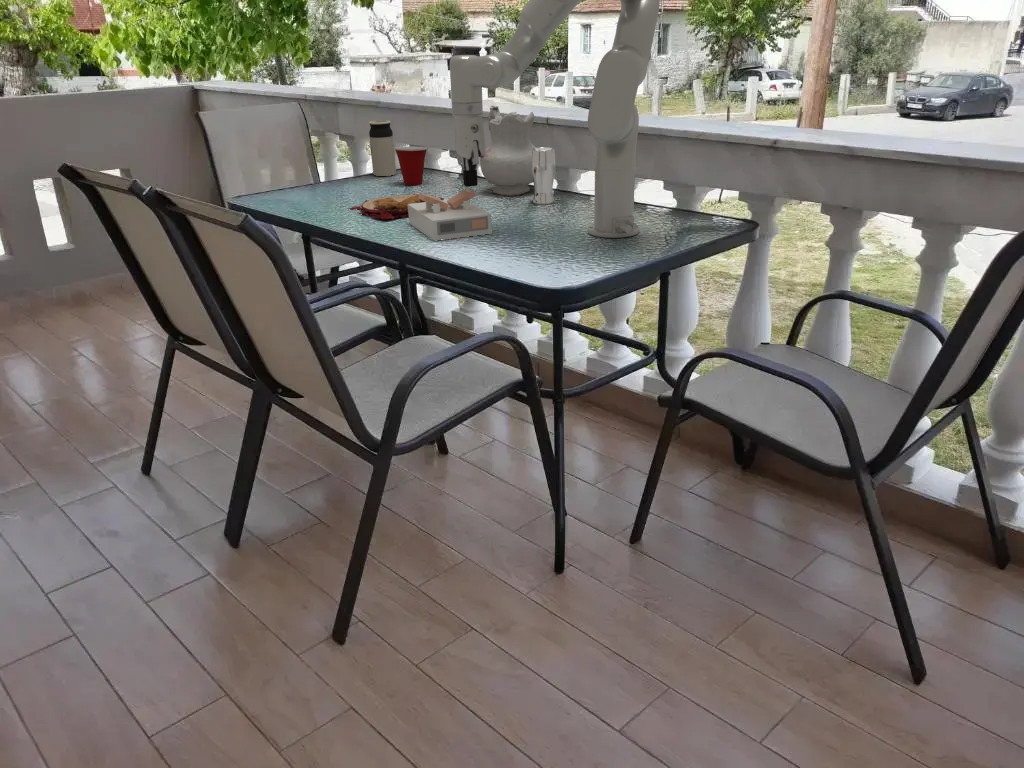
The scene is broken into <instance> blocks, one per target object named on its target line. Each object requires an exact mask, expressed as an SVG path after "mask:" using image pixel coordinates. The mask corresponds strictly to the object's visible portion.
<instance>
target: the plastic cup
mask: <svg viewBox="0 0 1024 768" xmlns="http://www.w3.org/2000/svg"><path fill="white" fill-rule="evenodd" d="M427 150H428V147H425V146H397V147H395V146H394V152H396V156H397V159H398V164H399V169H400V172H401V175H402V180H403V183H404V186H411V187H413V186H421V185H422V184H423V179H424V173H425V172H424V170H425V169H424V168H425V161H426V160H425V158H426V154H427Z"/></svg>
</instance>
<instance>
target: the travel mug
mask: <svg viewBox="0 0 1024 768" xmlns="http://www.w3.org/2000/svg"><path fill="white" fill-rule="evenodd" d="M391 123H392V121H391V120H372V121H369V122H368V124H369V127H370V129H369V132H368V134H369V143H370V144H369V145H370V155H371V165H372V174H374V175H376V176H375V177H377V176H388V177H392V176H391V175H393V176H395V175H396V174H397V169H396V168H397V167H396V158H395V149H394V148H395V146H394V134H393V130H392V127H391ZM374 175H373V176H374Z"/></svg>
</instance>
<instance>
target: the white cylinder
mask: <svg viewBox="0 0 1024 768" xmlns="http://www.w3.org/2000/svg"><path fill="white" fill-rule="evenodd" d="M531 172H532V178H533V183H532V184H533V188H534V191H533V192H534V193H533V200H532V203H533V204H535V205H550V204H554V203H555V199H554V192H553V190H554V188H553V187H554V186H553V185H554V179H555V174H556V152H555V147H547V146H544V147H543V146H542V147H541V146H540V147H536V148H533V149H531Z"/></svg>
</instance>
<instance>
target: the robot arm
mask: <svg viewBox="0 0 1024 768" xmlns="http://www.w3.org/2000/svg"><path fill="white" fill-rule="evenodd" d="M581 1H584V2H585V0H528V2H527V3H526V4H525V5H524V7H523V8H522V10H521V11H520V15H519V22H518V26H517V28H516V30H515V32H514V33H513V35H512V36H511V37H510V38H509V40H508V41H507V43H506V44H505V45H504V46H503V47H502V48H501V50H500V51H499V52H498V53H491V54H484V55H481V56H480V55H479V56H478V55H474V54H460V55H453V56H452V57H450V59H449V75H450V76H449V77H450V100H451V114H452V117H453V118H454V146H455V153H456V154H457V155H458V156H459V158H460V159H461V163H462V164H461V165H462V167H461V168H462V177H463V186H465V187H466V188H470V187H477V186H478V185H479V184H478V165H480V157H481V158H484V157H485V156H486V151H485V150H486V139H485V130H484V122H483V116H484V110H483V107H484V106H483V88H484V89H489V90H490V89H493V90H495V89H498V88H499V89H500V88H502V87H505V86H509V85H511V84H513V83H514V82H515V81H516V80H517V79H519V77H520V76H521V75H522V74H523V73H524V72H525V71H526V70H527V68H528V67H529V66H530V65H531V64H532V62H533V61H534V60H535V58H536V57H537V56H538V55H539V53H540V52H541V50H542V49H543V47H544V46H545V45H546V43H547V41H548V40H549V38H550V37H551V36H552V35H553V34H554V32H555V31H556V30H557V29H558V27H559V26H560V25H561V24H562V23H563V22H564V20H566V18H567V17H568V16H569V15H570V14H571V13H572V12H573V10H574V9H575V8H576V7H577V6H578V4H580V2H581ZM619 1H620V13H619V16H618V18H617V19H618V20H617V23H616V29H615V35H614V39H613V44H612V47H611V49H609V50H608V51H607V52H606V53H605V54H604V55H603V56H602V58H601V60H600V62H599V65H598V66H597V71H596V73H595V80H594V85H593V90H592V94H591V98H590V104H589V110H588V116H587V128H588V131H589V133H590V136H591V137H592V138H593V139H594V140H595V141H596V143H595V156H594V157H595V158H594V159H595V160H594V202H593V203H594V205H593V206H594V208H593V209H594V210H593V211H594V212H593V213H594V215H593V218H594V220H593V223H592V224H590V225H588V226H587V233H588V234H589V235H592V236H594V237H599V238H605V239H606V238H607V239H608V238H609V239H610V238H612V239H619V238H620V239H621V238H629V237H633V236H636V235H638V234H639V233H640V227H639V226H638V224H637V223H636V222H635V215H634V211H635V209H634V208H635V184H636V183H635V182H636V181H635V180H636V165H637V164H636V163H637V162H636V161H637V143H638V134H639V127H640V126H639V125H640V123H639V121H640V117H639V112H638V107H637V106H636V104H635V101H636V97H637V93H638V90H639V86H640V85H641V84H643V82H644V80H645V78H646V76H647V72H648V69H649V68H648V67H649V61H650V57H651V52H652V48H653V42H654V38H655V33H656V27H657V23H658V20H659V19H658V18H659V14H660V13H659V12H660V3H661V1H660V0H619Z"/></svg>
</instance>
